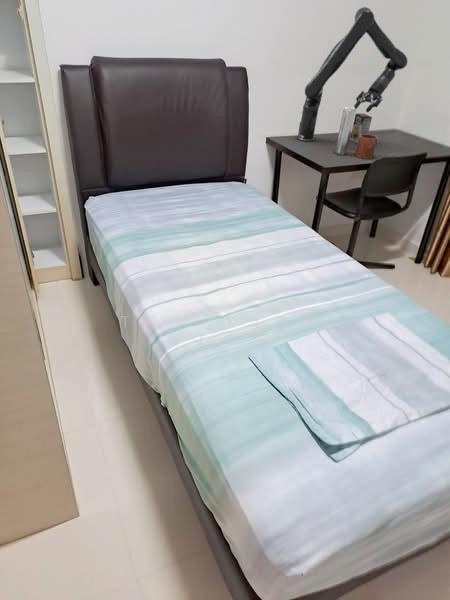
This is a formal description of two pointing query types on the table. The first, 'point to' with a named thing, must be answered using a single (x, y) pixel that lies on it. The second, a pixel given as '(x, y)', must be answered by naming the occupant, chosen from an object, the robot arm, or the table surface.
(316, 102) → the robot arm
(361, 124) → the coffee box
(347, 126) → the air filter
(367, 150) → the cup
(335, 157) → the table surface
